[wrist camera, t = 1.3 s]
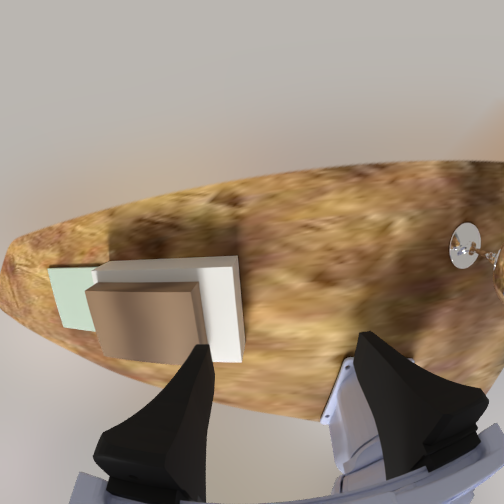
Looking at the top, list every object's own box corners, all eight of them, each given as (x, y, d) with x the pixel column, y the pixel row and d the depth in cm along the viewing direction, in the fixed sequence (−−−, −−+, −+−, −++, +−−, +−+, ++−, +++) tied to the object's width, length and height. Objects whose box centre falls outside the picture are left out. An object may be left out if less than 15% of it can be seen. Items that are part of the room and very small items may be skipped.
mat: (110, 266, 23) (108, 267, 23) (125, 333, 25) (124, 334, 24) (49, 267, 24) (47, 268, 24) (65, 325, 25) (63, 327, 25)
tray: (237, 255, 22) (232, 266, 19) (245, 342, 24) (241, 362, 21) (109, 261, 23) (91, 270, 20) (127, 337, 25) (113, 353, 22)
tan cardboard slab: (198, 281, 19) (190, 292, 17) (209, 351, 21) (203, 366, 19) (97, 282, 20) (84, 290, 18) (114, 344, 22) (104, 356, 20)
